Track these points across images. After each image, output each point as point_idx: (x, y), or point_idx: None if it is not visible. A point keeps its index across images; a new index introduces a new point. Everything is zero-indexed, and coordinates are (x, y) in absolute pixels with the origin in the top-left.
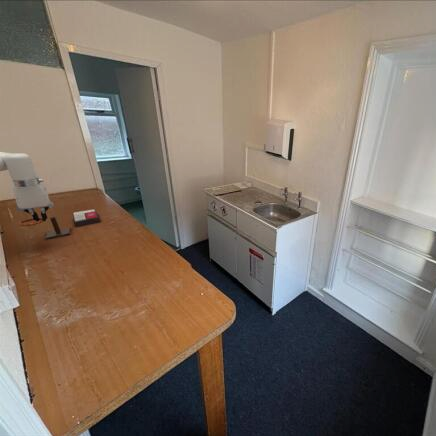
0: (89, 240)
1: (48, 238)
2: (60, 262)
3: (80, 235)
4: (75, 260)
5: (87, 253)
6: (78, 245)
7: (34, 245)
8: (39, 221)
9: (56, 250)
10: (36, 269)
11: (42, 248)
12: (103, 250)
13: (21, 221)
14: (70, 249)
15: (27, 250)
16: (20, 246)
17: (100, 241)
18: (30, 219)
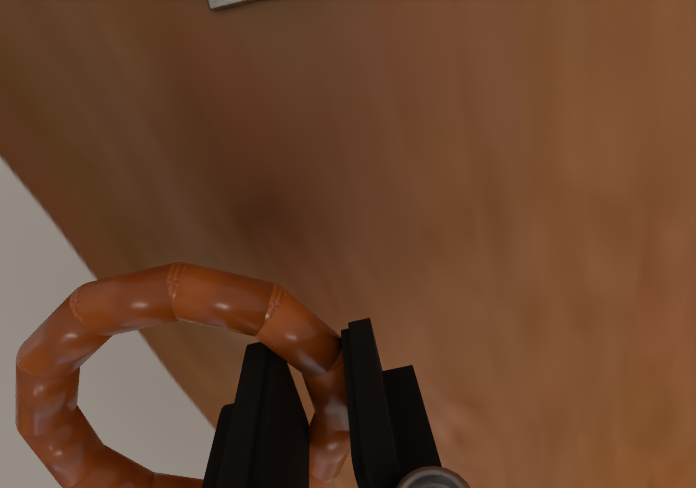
0: (598, 203)
1: (233, 6)
2: (447, 455)
3: (526, 31)
4: (517, 457)
5: (575, 405)
6: (521, 272)
7: (172, 138)
8: (336, 473)
9: (386, 303)
10: (351, 483)
11: (272, 231)
12: (661, 397)
13: (49, 433)
14: (475, 319)
15: (170, 229)
16: (51, 113)
17: (670, 256)
18: (121, 330)
